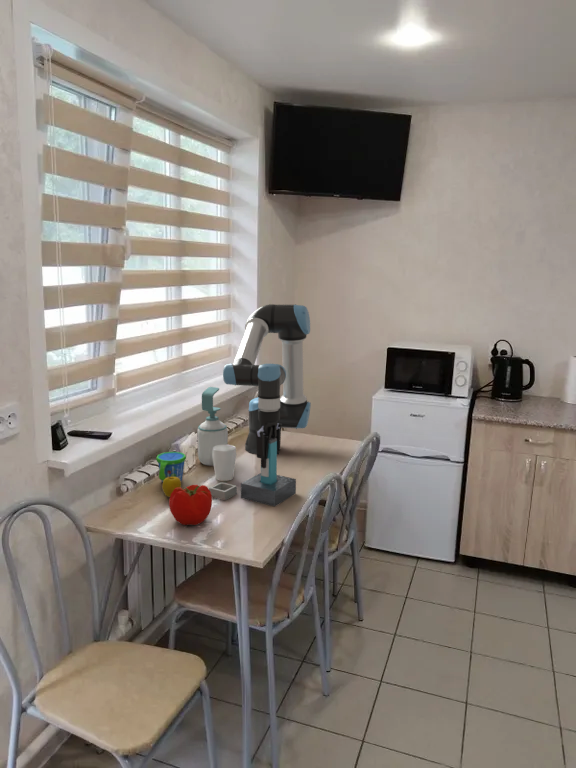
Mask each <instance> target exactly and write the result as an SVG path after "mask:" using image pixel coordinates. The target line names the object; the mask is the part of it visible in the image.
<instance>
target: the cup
mask: <svg viewBox="0 0 576 768" xmlns="http://www.w3.org/2000/svg"><path fill="white" fill-rule="evenodd" d="M212 457H213V464H214V466H213V468H214V476H215V479H216V480H218V481H220V482H226V481H227V482H228V481H231V480H233V478H234V475H235V468H236V459H237V447H236V446H235V445H233V444H228V445H226V444H224V445H217V446H214V447H213V453H212Z"/></svg>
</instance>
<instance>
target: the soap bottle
mask: <svg viewBox="0 0 576 768" xmlns="http://www.w3.org/2000/svg"><path fill="white" fill-rule="evenodd" d="M219 391H220V388H219V387H216V386H210V387H207V389H205V390H204V391H202V393H201V410H202V411H205V412H207V413H208V414H209V416H206V417H205V421H204V422H202V423H200V425H198V427H197V432H196V434H197V458H198V460H199V462H200V463H201V464H203V465H205V466H208V467H214V464H213V457H212V453H213V447H214V446H217V445H224V444H226V445H229V440H228V439H229V437H228V435H229V434H228V432H229V431H228V428H227V425H226V424H225V423H223V422H222V421H221V420H219V416H216V414H217V411H220V410H221V407H215V406H214V396H215V394H216V393H218V392H219Z"/></svg>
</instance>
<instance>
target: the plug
mask: <svg viewBox="0 0 576 768" xmlns="http://www.w3.org/2000/svg"><path fill="white" fill-rule="evenodd" d="M277 456H278V455H277V438H271V439H270V440H269V449H268V457H267V458H269V477H265V476H261V483H265V484H269V485H272V484H274V483H275V482H277V475H278V472H277V470H278V468H277V465H278V464H277V463H278V461H277V460H278V457H277Z"/></svg>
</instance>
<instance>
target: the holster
mask: <svg viewBox="0 0 576 768" xmlns="http://www.w3.org/2000/svg"><path fill="white" fill-rule="evenodd" d="M208 489H209V490H210V492H211V495H212V498H215V499H219V500H223V501H227V500H228V499H230V498H232V497H233V496H235V495H238V485H235V484H231V483H226V482H224V481H220V482H218V483H216V484H214V485H213V486H210V487H209V488H208Z"/></svg>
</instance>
